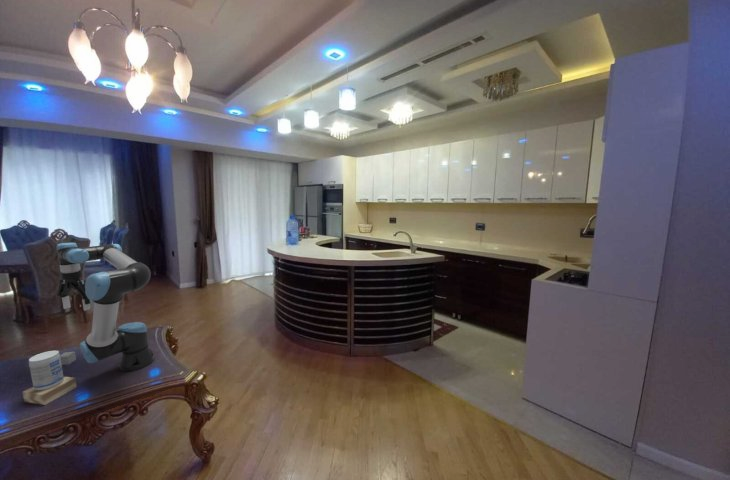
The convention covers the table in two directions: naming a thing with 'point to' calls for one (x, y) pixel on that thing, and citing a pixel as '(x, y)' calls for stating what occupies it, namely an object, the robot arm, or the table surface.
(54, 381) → the supplement tub
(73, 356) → the grey cube
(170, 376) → the table surface
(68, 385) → the oak block
